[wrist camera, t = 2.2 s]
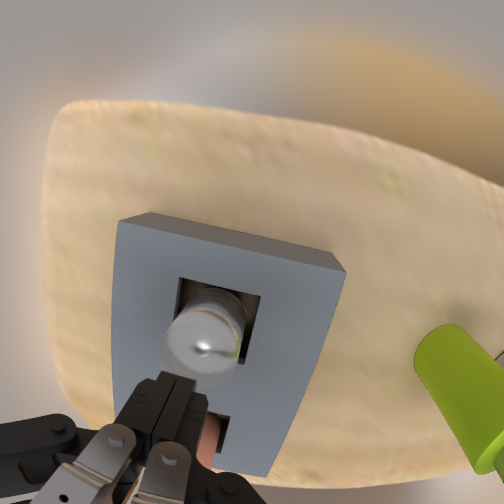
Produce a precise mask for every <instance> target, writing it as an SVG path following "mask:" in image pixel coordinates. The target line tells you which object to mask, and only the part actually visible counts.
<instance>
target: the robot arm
mask: <svg viewBox="0 0 504 504" xmlns="http://www.w3.org/2000/svg"><path fill="white" fill-rule="evenodd" d="M496 362H497V363H498V364H499V365H500V366H501V367H502V368H503V369H504V353H503V354H502V355H501V356H500V357H499V358H498V359H497V360H496ZM196 385H197V380H195V379H191V378H187V377H184V376H179V375H176V374H173V373H169V372H166V371H163V370H162V371H161V372H160V374H159V376H158V377H157V379H156V381H155V380H152V379H149V378H146V379H144V380H143V381H141V382H139V383H138V384H137V386H136V387H135V389H134V391H133V393H132V394H131V395H130V397H129V399H128V400H127V402H126V403H125V405H124V406H123V408H122V410H121V411H120V413H119V414H118V416H117V418H116V419H115V421H114V422H113V424H108V425H105V426H103V427H102V428H101V429H100V430H89V429H83V428H77V427H76V425H75V423H74V421H73V420H72V419H71V418H70V417H68V416H66V415H63V414H50V415H46V416H41V417H36V418H32V419H26V420H21V421H16V422H10V423H4V424H0V498H5V497H11V496H16V495H21V494H27V493H31V492H36V491H39V492H38V494H37V495H36V496H35V497H34V499H32V500H24V501H20V502H16V503H12V504H126V503H127V501H128V500H129V498H130V496H131V494H132V492H133V491H134V489H135V487H136V485H137V483H138V481H139V475H140V473H141V470H142V468H143V467H145V470H144V473H143V476H142V480H141V483H140V487H139V489H138V492H137V494H135V495H134V496H133V498H132V501H131V504H266V503H265V501H264V500H263V499H262V498H261V497H260V496H259V494H258V493H257V492H256V491H255V490H254V489H253V487H252V486H251V485H250V484H249V482H248V481H247V480H246V479H245V478H244V477H242V476H240V475H238V474H236V473H232V472H221V473H215V472H213V471H211V470H209V469H207V468H206V467H204V466H203V465H202V464H201V463H200V462H199V461H198V459H197V457H196V454H197V451H198V447H199V444H200V440H201V436H202V433H203V430H204V425H205V420H206V415H207V410H208V405H209V403H208V400H207V396H206V395H205V394H201V393H197V392H195V391H196Z"/></svg>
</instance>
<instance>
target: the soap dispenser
mask: <svg viewBox="0 0 504 504" xmlns="http://www.w3.org/2000/svg"><path fill="white" fill-rule="evenodd" d="M414 367H415V370H416V372H417V374H418V375H419V377H420V378H421V380H422V382H423V383H424V385H425V386H426V388H427V390H428V391H429V393H430V394H431V396H432V398H433V399H434V401H435V402H436V404H437V406H438V407H439V409H440V411H441V412H442V414H443V416H444V417H445V419H446V421H447V423H448V424H449V426H450V428H451V429H452V431H453V433H454V435H455V436H456V438H457V440H458V442H459V443H460V445H461V447H462V449H463V451H464V452H465V454H466V456H467V458H468V460H469V462H470V463H471V465H472V467H473V469H474V471H475V473H476V474H479V475H483V474H487V473H490V472H492V471H494V470H496V471H497V472H498V474H499V476H500V477H501V479H502V481H503V483H504V369H503V368H502V367H501V366H500V365H499V364H498V363H497V362H496V361H495V360H494V359H493V358H492V357H491V356H490V355H489V354H488V353H487V352H486V351H485V350H484V349H483V348H482V347H480V346H479V345H478V344H477V343H476V342H475V341H474V340H473V339H472V338H471V337H470V336H469V335H468V334H467V333H466V332H465V331H463V330H462V329H461V328H460V327H459V326H456V325H444V326H441V327H439V328H437V329H435V330H434V331H432V332H431V333H430V334H429V335H428V336H427V337H426V338H425V339H424V340H423V341H422V342H421V344H420V345H419V347H418V349H417V351H416V354H415V358H414Z"/></svg>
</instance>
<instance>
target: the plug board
mask: <svg viewBox="0 0 504 504" xmlns="http://www.w3.org/2000/svg"><path fill="white" fill-rule="evenodd" d="M346 274H347V273H346V271H345V270H344V268H343V267H342V266H341V264H340V263H339V262H338V260H337V259H336V258H335V256H334V255H333V254H332V253H329V252H325V251H321V250H316V249H312V248H308V247H303V246H299V245H295V244H290V243H286V242H282V241H277V240H273V239H269V238H264V237H260V236H255V235H251V234H247V233H242V232H238V231H233V230H229V229H224V228H220V227H215V226H210V225H206V224H201V223H197V222H192V221H187V220H183V219H178V218H174V217H169V216H164V215H159V214H155V213H150V212H149V213H145V214H141V215H138V216H134V217H130V218H127V219H123V220H120V221H118V227H117V236H116V246H115V257H114V270H113V287H112V315H111V354H112V381H113V397H114V410H115V419H116V418H117V416H118V414H119V413H120V411H121V410H122V408H123V406H124V405H125V403H126V402H127V400H128V399H129V397H130V395H131V394H132V393H133V391H134V389H135V387H136V386H137V384H138V383H139V382H141V381H143V380H144V379H146V378H149V379H152V380H155V381H156V379H157V377H158V376H159V374H160V372H161V371H162V370H163V371H166V372H169V371H168V370H167V369H166V367H165V365H164V364H163V361H162V359H161V355H160V344H161V340H162V338H163V336H164V335H165V333H166V332H167V330H168V329H169V328H170V326H171V325H172V323H173V322H174V321H175V319H176V318H177V312H178V304H179V297H180V290H181V283H182V278H186V279H190V280H194V281H198V282H202V283H207V284H211V285H215V286H219V287H223V288H227V289H232V290H236V291H240V292H244V293H249V294H253V295H258V296H261V297H260V302H259V306H258V310H257V314H256V318H255V322H254V326H253V330H252V334H251V338H250V342H249V346H248V350H247V354H246V358H245V359H244V358H240V357H238V361H237V365H236V369H235V372H234V374H233V375H232V377H231V378H230V379H229V380H228V381H227V382H225V383H224V384H222V385H220V386H217V387H213V388H197V387H196V391H195V392H197V393H201V394H205V395H206V396H207V400H208V403H209V405H208V410H207V411H210V412H214V413H218V414H222V415H226V416H230V420H229V424H228V428H225V427H221V430H220V434H219V438H218V443H217V447H216V451H215V455H214V459H213V463H212V468H216V469H221V470H225V471H230V472H235V473H241V474H246V475H252V476H259V477H267V475H268V473H269V471H270V469H271V467H272V465H273V463H274V461H275V459H276V457H277V454H278V452H279V450H280V448H281V446H282V444H283V442H284V439H285V437H286V435H287V433H288V431H289V428H290V426H291V424H292V422H293V419H294V417H295V415H296V412H297V410H298V408H299V405H300V403H301V401H302V398H303V396H304V393H305V391H306V388H307V386H308V383H309V381H310V378H311V376H312V373H313V371H314V368H315V365H316V363H317V360H318V357H319V355H320V352H321V349H322V346H323V344H324V341H325V338H326V335H327V332H328V330H329V327H330V324H331V321H332V318H333V315H334V312H335V309H336V306H337V303H338V300H339V296H340V293H341V290H342V287H343V284H344V280H345V277H346ZM169 373H170V372H169Z"/></svg>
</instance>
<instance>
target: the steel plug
mask: <svg viewBox="0 0 504 504" xmlns="http://www.w3.org/2000/svg"><path fill="white" fill-rule="evenodd" d="M245 326H246V312H245V309H244V306H243V304H242V303H241V301H240V300H239V299H238V298H237V297H236V296H235V295H233V294H232V293H230V292H229V291H226V290H224V289H220V288H207V289H203V290H200V291H198V292H197V293H195V294H194V295H193V296H192V297H191V298H190V300H189V301H188V303H187V304H186V305H185V307H184V308H183V309H182V311H181V312H180V314H179V315H178V316H177V318H176V319H175V321H174V322H173V323H172V325H171V326H170V328H169V329H168V330H167V332H166V333H165V335H164V336H163V338H162V340H161V344H160V355H161V359H162V361H163V364H164V365H165V367H166V369H167V370H168V371H169V372H170V373H173V374H176V375H179V376H184V377H187V378H191V379H195V380H197V385H196V387H197V388H213V387H217V386H220V385H222V384H224V383H225V382H227V381H228V380H229V379H230V378H231V377H232V375H233V374H234V372H235V369H236V365H237V361H238V357H239V352H240V348H241V343H242V339H243V335H244V330H245Z"/></svg>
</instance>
